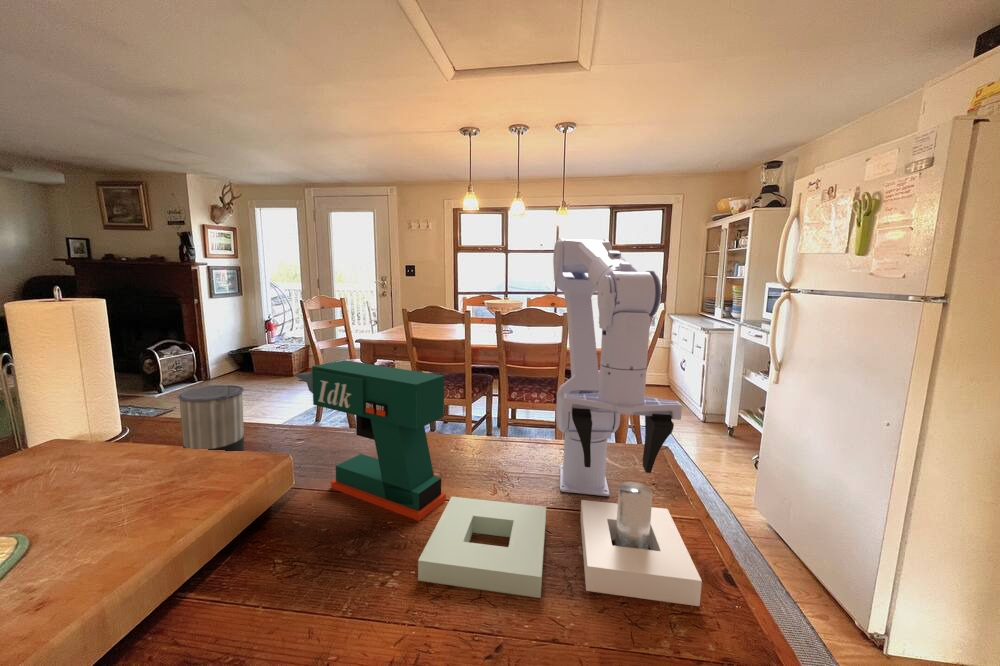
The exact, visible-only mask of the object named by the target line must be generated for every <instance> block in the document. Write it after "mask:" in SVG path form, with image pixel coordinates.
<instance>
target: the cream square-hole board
mask: <svg viewBox="0 0 1000 666" xmlns="http://www.w3.org/2000/svg"><path fill="white" fill-rule="evenodd" d="M617 508H618V503H615V502H606V501H597V500H587V499H586V500H585V499H581V501H580V518H579V519H580V529H581V530H580V531H581V543H582V545H581V546H582V554H583V555H582V556H583V567H584V570H583V571H584V582H585V591H586V592H591V593H592V592H593V593H598V594H599V593H600V594H607V595H608V594H609V595H614V596H621V597H622V596H623V597H630V598H637V599H644V600H650V601H656V602H657V601H658V602H663V603H671V604H672V603H673V604H681V605H687V606H694V607H695V606H696V607H700V605H701V596H702V595H701V594H702V584H703V581H702V578H701V576H700V574H699V572H698V569H697V568H696V566H695V563H694V562H693V560H692V557H691V554H690V553H689V551H688V549H687V546H686V545H685V543H684V540H683V538H682V536H681V534H680V532H679V530H678V528H677V525H676V523H675V522H674V519H673V517H672V516H671V514H670V511H669V509H668V508H661V507H653V506H652V510H651V523H650V536H649V548H650V549H648V550H645V549H637V548H629V547H620V546H615V545H613V543H612V541H613V542H615V538H616V523H617Z"/></svg>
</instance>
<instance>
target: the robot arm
mask: <svg viewBox="0 0 1000 666" xmlns="http://www.w3.org/2000/svg"><path fill="white" fill-rule="evenodd" d="M553 247H554V248H553V259H552V261H553V264H552V265H553V281H554V282H555V283H554V284H555V288H557V289H558V290H559V291H561V292H562V293H563V294H564V301H565V306H566V315H567V330H568V331H567V333H568V346H569V347H568V348H569V358H570V359H569V360H570V374H571V375H570V376H571V377H570V378H569V379H567V380H566V381H565V382H564V383H562V384H561V385H560V386H559V387H558V390H557V392H556V405H555V406H556V407H555V419H556V426H557V428H558V430H559V431H560V432H561V433H563V434H564V438H563V439H564V441H563V457H562V459H563V461H562V462H563V463H562V464H560V465H559V491H561V492H563V493H573V494H574V493H575V494H581V495H582V494H583V495H591V496H592V495H593V496H594V495H595V496H600V497H601V496H602V497H610V490H609V485H608V482H607V476H606V469H607V451H608V440H609V439H610V440H611V439H612V434H615V433H616V431H617V430H618V429H619V428H620V423H621V415H630V416H642V417H643V416H644V419H645V420H644V423H645V424H644V426H645V427H644V430H645V433H644V447H643V455H642V467H643V469H644V471H645V473H646V474H652V472H653V469H654V464H655V461H656V459H657V456H658V455H659V452H660V450H661V448H662V447H663V445H664V444H665V442H666V440H667V439H668V438H669V436H670V435H671V434H672V432H673V430H674V425H675V424H674V422H673V421H672V420H676V421H677V420H678V421H679V420H680V421H681V420H682V411H683V405H682V404H681V402H679V401H678V400H670V399H664V398H656V397H648V396H646V383H647V369H648V356H649V355H648V352H649V339H650V325H651V324H650V323H651V318H652V317H654V316H655V315H656V314H657V312H658V310H659V309H660V308H659V307H660V304H661V299H662V285H661V281H660V278H659V276H658V274H657V273H656V271H654V270H646V271H638V270H637V269H636V268H635V267H633V265H632V264H631V263H630V262H628V261H627V260H626V259H625V258H624V257H622V253H621V252H620V250H613V247H612V244H611V242H610V241H609V240H608V239H602V240H601V239H573V238H572V239H570V238H568V239H567V238H563V237H559V238H558V239H557V240H556V242H555V243H554V246H553ZM596 292H597V308H598V315H599V316H598V324H599V328H600V329H601V341H600V342H601V345H600V347H601V348H600V363H598V354H597V343H596V333H595V323H594V313H593V301H592V297H593V295H594V293H596Z"/></svg>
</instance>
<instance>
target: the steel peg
mask: <svg viewBox="0 0 1000 666" xmlns="http://www.w3.org/2000/svg"><path fill="white" fill-rule="evenodd" d="M653 492H654V491H653V490H652V488H650V487H648V486H647V485H645V484H644V483H640V482H635V481H625V482H622V483H620V484H619V485H618V496H617V504H618V508H617V523H616V538H615V541H614V546H620V547H629V548H637V549H645V550H649V548H650V546H649V536H650V523H651V510H652V507H653V497H654V496H653V494H654V493H653Z"/></svg>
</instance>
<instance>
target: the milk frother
mask: <svg viewBox="0 0 1000 666" xmlns="http://www.w3.org/2000/svg"><path fill="white" fill-rule="evenodd" d="M244 391H245V388H244V387H243V386H239V385H233V384H218V385H216V384H215V385H207V386H200V387H195V388H194V387H193V388H191V389H186V390H184V391H180V392H179V393H178V394H176V398H177V399H179V409H180V424H181V435H182V447H183V448H191V449H208V450H225V451H245V432H244V431H245V429H244V428H245V427H244V426H245V425H244V406H243V405H244V404H243V403H244V402H243V392H244ZM245 452H246V451H245Z"/></svg>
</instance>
